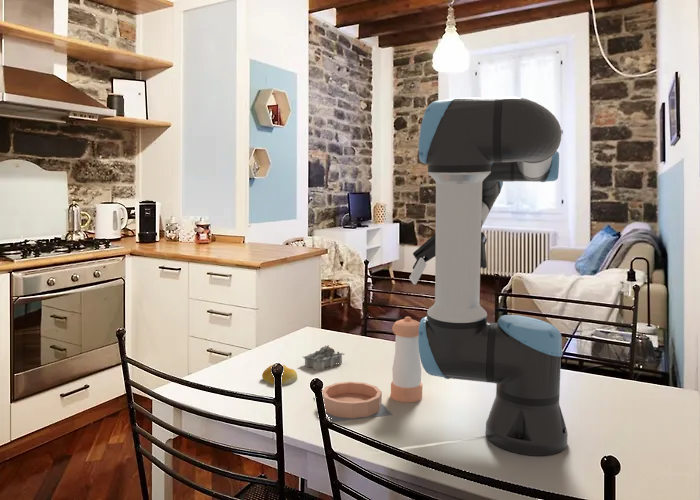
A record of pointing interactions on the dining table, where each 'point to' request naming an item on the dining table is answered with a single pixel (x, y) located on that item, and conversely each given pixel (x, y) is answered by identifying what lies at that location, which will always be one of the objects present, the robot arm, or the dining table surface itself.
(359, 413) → the dish
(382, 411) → the mat
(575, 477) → the dining table surface
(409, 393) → the pepper shaker
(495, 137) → the robot arm
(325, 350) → the egg carton
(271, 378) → the bread roll
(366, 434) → the dining table surface
